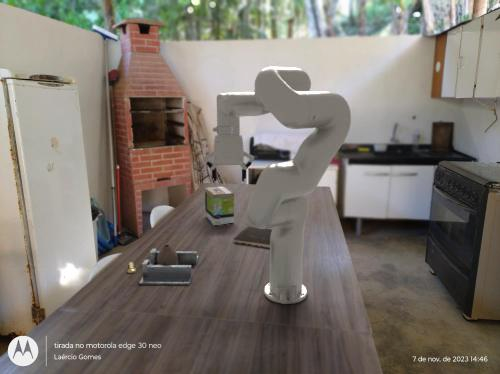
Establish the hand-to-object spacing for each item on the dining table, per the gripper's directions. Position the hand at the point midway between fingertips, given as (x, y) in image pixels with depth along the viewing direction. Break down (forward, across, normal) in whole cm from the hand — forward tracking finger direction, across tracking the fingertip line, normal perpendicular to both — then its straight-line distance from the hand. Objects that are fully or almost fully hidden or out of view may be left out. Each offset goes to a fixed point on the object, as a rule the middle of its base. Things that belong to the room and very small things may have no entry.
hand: (229, 180), depth 130 cm
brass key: (+28, -33, -10) cm, 45 cm away
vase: (+29, -20, -11) cm, 37 cm away
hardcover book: (+29, +14, +17) cm, 36 cm away
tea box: (+29, -8, +41) cm, 50 cm away
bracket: (+28, -18, -11) cm, 36 cm away
